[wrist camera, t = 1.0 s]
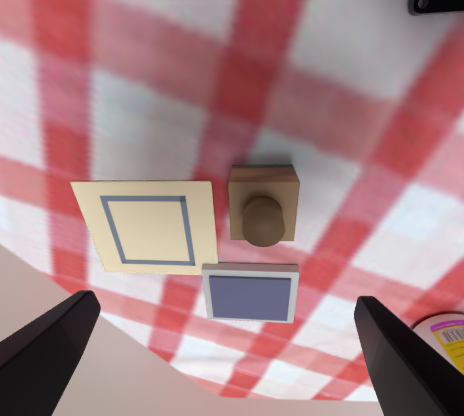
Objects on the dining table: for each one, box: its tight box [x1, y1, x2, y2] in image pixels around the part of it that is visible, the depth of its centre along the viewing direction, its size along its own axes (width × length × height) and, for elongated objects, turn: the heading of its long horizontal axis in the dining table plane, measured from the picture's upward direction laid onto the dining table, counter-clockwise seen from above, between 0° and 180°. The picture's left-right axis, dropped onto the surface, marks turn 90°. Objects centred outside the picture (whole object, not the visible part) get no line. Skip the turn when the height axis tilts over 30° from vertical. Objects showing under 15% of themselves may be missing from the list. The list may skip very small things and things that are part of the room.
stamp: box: [228, 165, 300, 247], centre depth 17 cm, size 4×4×6 cm
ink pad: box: [201, 263, 299, 323], centre depth 24 cm, size 9×7×1 cm
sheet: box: [70, 181, 219, 275], centre depth 22 cm, size 12×10×1 cm
